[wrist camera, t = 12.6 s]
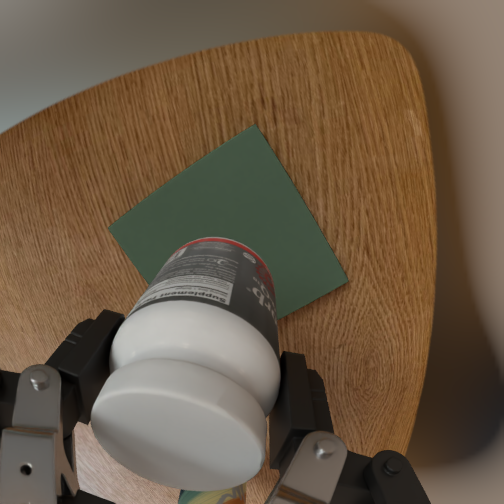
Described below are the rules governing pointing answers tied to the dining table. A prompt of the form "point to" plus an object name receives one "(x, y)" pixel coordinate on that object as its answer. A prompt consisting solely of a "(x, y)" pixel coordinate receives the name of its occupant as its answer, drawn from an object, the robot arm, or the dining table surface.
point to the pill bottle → (195, 371)
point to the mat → (236, 220)
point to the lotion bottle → (214, 496)
